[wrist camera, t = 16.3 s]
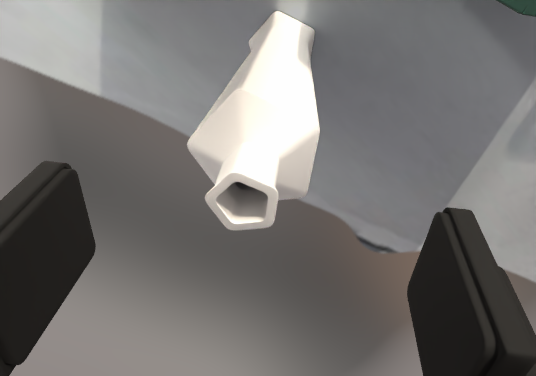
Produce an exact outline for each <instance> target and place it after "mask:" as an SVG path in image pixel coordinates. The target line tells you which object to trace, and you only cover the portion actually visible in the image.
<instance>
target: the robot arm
mask: <svg viewBox="0 0 536 376" xmlns="http://www.w3.org/2000/svg"><path fill="white" fill-rule="evenodd" d="M94 252H95V240H94V237H93V233H92V229H91V225H90V221H89V217H88V213H87V209H86V205H85V201H84V197H83V194H82V190H81V186H80V182H79V178H78V174H77V172H76V171H75V170H73V169H72V168H71V166H70V165H69V164H67V163H60V162H52V161H44V162H42V163H41V164H40V165H38V166H37V167H36V168H35V169H34V170H33V171H32V172H31V173H30V174H29V175H28V176H27V177H25V178H24V179H23V180H22V181H21V182H20V183H19V184H18V185H17V186H16V187H15V188H13V189H12V190H11V191H10V192H9V193H8V194H7V195H6V196H5V197H4V198H3V199H2V200H0V376H9V375H10V374H11V372H12V371H13V369H14V368H15V366H16V365H20V364H21V363H23V362H24V361H25V359H26V358H27V356H28V355H29V353H30V352H31V350H32V349H33V347H34V346H35V344H36V343H37V341H38V340H39V338H40V337H41V335H42V333H43V332H44V331H45V329H46V328H47V326H48V324H49V323H50V321H51V320H52V318H53V317H54V315H55V314H56V312H57V311H58V309H59V308H60V306H61V305H62V303H63V302H64V300H65V298H66V297H67V295H68V294H69V292H70V291H71V289H72V288H73V286H74V285H75V283H76V282H77V280H78V279H79V277H80V276H81V274H82V272H83V271H84V269H85V268H86V267H87V265H88V263H89V262H90V260H91V259H92V257H93V255H94ZM407 296H408V302H409V307H410V312H411V317H412V321H413V327H414V331H415V337H416V342H417V347H418V352H419V356H420V362H421V367H422V371H423V376H536V335H535V333H534V331H533V328H532V326H531V324H530V322H529V320H528V318H527V316H526V314H525V312H524V310H523V308H522V306H521V303H520V301H519V299H518V297H517V295H516V293H515V291H514V289H513V287H512V285H511V282H510V280H509V278H508V276H507V274H506V273H505V271H504V270H503V269H502V268H501V267H499V266H497V263H496V261H495V259H494V257H493V255H492V253H491V250H490V248H489V246H488V244H487V242H486V240H485V238H484V235H483V233H482V231H481V229H480V227H479V225H478V222H477V220H476V218H475V216H474V214H473V212H472V211H471V210H466V209H457V208H449V207H447V208H445V209H444V210H443V212H437V213H436V214H435V216H434V218H433V221H432V224H431V226H430V229H429V232H428V234H427V237H426V239H425V242H424V245H423V247H422V250H421V253H420V255H419V258H418V260H417V263H416V266H415V269H414V271H413V274H412V276H411V279H410V282H409V285H408V291H407Z"/></svg>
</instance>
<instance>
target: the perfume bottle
mask: <svg viewBox="0 0 536 376" xmlns="http://www.w3.org/2000/svg"><path fill="white" fill-rule="evenodd" d="M314 36H315V31H314V29H313V28H311V27H309V26H307V25H305V24H303V23H301V22H299V21H297V20H295V19H293V18H292V17H290V16H288V15H286V14H284V13H282V12H279V11H275V12H274V13H273V14H272V15H271V16H270V17H269V18H268V19H267V20H266V22H265V23H264V24H263V25H262V26H261V27H260V28H259V30H258V31H257V32H256V33H255V34H254V35H253V36H252V38H251V39H250V40H249V46H250V49H251V52H250V54H249V55H248V56H247V58H246V59H245V61H244V62H243V64H242V65H241V66H240V68H239V69H238V71H237V72H236V74H235V75H234V76H233V78H232V79H231V81H230V82H229V84H228V85H227V86H226V88H225V89H224V91H223V92H222V93H221V95H220V96H219V98H218V99H217V101H216V102H215V103H214V105H213V106H212V108H211V109H210V111H209V112H208V113H207V115H206V116H205V118H204V119H203V121H202V122H201V123H200V125H199V126H198V128H197V129H196V131H195V132H194V133H193V135H192V136H191V138H190V139H189V141H188V143H187V148H188V150H189V151H190V153H191V154H192V155H193V157H194V158H195V159H196V160H197V162H198V163H199V164H200V166H201V167H202V168H203V170H204V171H205V172H206V174H207V175H208V177H209V178H210V179H211V181H212V182H213V183H214V184H215V186H214V187H213V188H212V189H211V190H210V191H209V192H208V193H207V194H206V196H205V201H206V202H207V204H208V206H209V207H210V208H211V209H212V211H213V212H214V213H215V214H216V216H217V217H218V218H219V220H220V221H221V222H222V223H223V225H224V226H225V227H226V228H227V229H229V230H247V229H259V228H267V227H270V226H272V225H273V223H274V221H275V215H276V209H277V202H278V200H286V199H296V198H302V197H304V196H305V195H306V194H307V192H308V187H309V182H310V178H311V173H312V168H313V163H314V158H315V154H316V149H317V144H318V139H319V134H320V127H319V120H318V113H317V106H316V99H315V92H314V84H313V77H312V70H311V63H310V59H311V54H312V48H313V42H314Z"/></svg>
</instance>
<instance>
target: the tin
mask: <svg viewBox="0 0 536 376" xmlns="http://www.w3.org/2000/svg"><path fill="white" fill-rule="evenodd" d="M496 1H498V2H500V3H502V4H503V5H505V6H507V7H509V8H510V9H512V10H514V11H516V12H517V13H519V14H522V15H528V16H535V17H536V0H496Z"/></svg>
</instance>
